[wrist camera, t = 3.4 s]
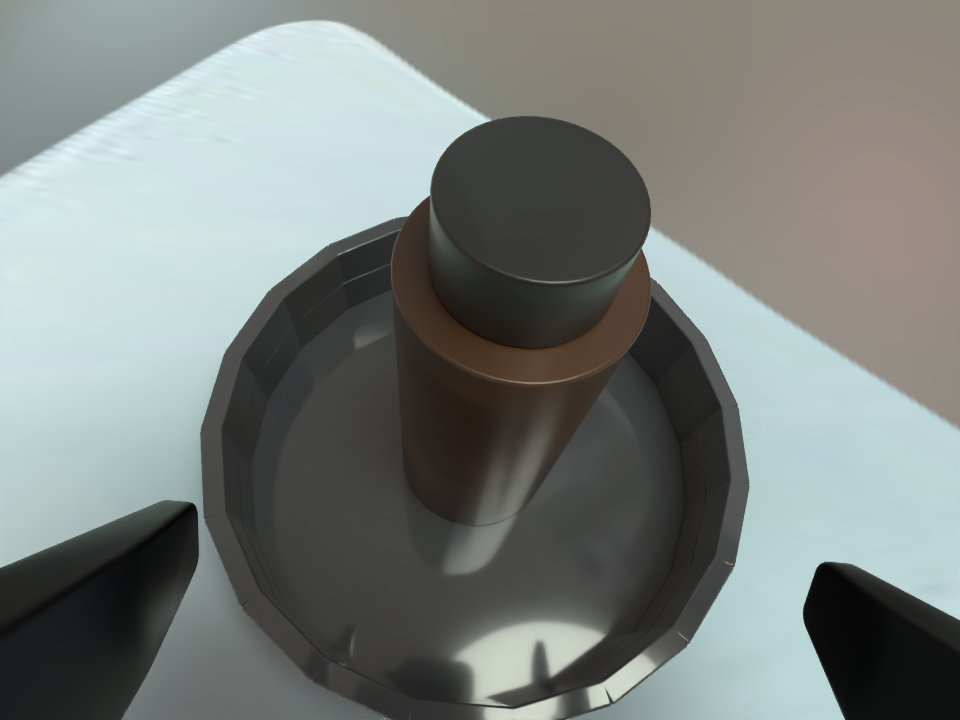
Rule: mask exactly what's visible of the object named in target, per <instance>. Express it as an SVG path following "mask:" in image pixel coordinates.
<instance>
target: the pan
mask: <svg viewBox="0 0 960 720" xmlns="http://www.w3.org/2000/svg"><path fill="white" fill-rule="evenodd" d="M408 217H409V216H408ZM408 217H400V218H395V219H392V220H389V221H387V222H384V223H382V224H379V225H377V226H374V227H372V228H369V229H367V230H364V231H362V232H359V233H357V234H354V235H352V236H349V237H347V238H344V239H342V240H339V241H337V242H334V243H332V244H330V245H329V246H326V247H325V248H324V249H322V250H321V251H320V252H318V253H317V254H316V255H314V256H313V257H312V258H311V259H309V260H308V261H307V262H305V263H304V264H303V265H301V266H300V267H299V268H298V269H296V270H295V271H294V272H292V273H291V274H290V275H288V276H287V277H286V278H284V279H283V280H282V281H281V282H279V283H278V284H277V285H275V286H274V287H273V288H271V290H270V291H268V293H267V294H266V295H265V297H264V298H263V300H262V301H261V302H260V304H259V305H258V307H257V308H256V309H255V311H254V312H253V314H252V315H251V316H250V318H249V319H248V321H247V322H246V323H245V325H244V326H243V328H242V329H241V330H240V332H239V333H238V335H237V336H236V337H235V339H234V340H233V342H232V343H231V344H230V346H229V347H228V349H227V350H226V352H225V354H224V356H223V359H222V363H221V366H220V369H219V372H218V376H217V379H216V382H215V385H214V388H213V392H212V395H211V398H210V401H209V405H208V408H207V411H206V414H205V417H204V421H203V424H202V427H201V432H200V439H201V464H202V488H203V512H204V519H205V523H206V526H207V528H208V530H209V533H210V535H211V538H212V540H213V542H214V545H215V547H216V550H217V552H218V554H219V557H220V559H221V561H222V564H223V566H224V569H225V571H226V573H227V576H228V578H229V580H230V583H231V585H232V588H233V590H234V592H235V595H236V597H237V600H238V602H239V604H240V606H242V609H243V610H244V612H245V613H246V614H247V615H248V616H249V617H250V618H251V619H252V620H253V621H254V622H255V623H256V624H257V625H258V626H259V627H260V628H261V629H262V630H263V631H264V633H265V634H266V635H267V636H268V637H269V638H270V639H271V640H272V641H273V642H274V643H275V644H276V645H277V646H278V647H279V648H280V649H281V650H282V651H283V652H284V654H285V655H286V656H287V657H288V658H289V659H290V660H291V661H292V662H293V663H294V664H295V665H296V666H297V667H298V668H299V669H300V670H301V671H302V672H303V673H304V675H305V676H306V677H307V678H308V679H309V680H312V682H313V683H315V684H317V685H319V686H321V687H323V688H325V689H328V690H330V691H332V692H334V693H336V694H338V695H340V696H342V697H344V698H346V699H349V700H351V701H353V702H355V703H357V704H359V705H361V706H363V707H365V708H367V709H370V710H372V711H374V712H376V713H378V714H380V715H382V716H384V717H386V718H388V719H391V720H567V719H570V718H573V717H577V716H580V715H583V714H586V713H590V712H593V711H596V710H600V709H603V708H606V707H609V706H611V704H615V703H616V702H618V701H619V700H620V699H622V698H623V697H624V696H625V695H627V694H628V693H629V692H630V691H632V690H633V689H634V688H635V687H637V686H638V685H639V684H640V683H642V682H643V681H644V680H646V679H647V678H648V677H649V676H651V675H652V674H653V673H654V672H656V671H657V670H658V669H659V668H661V667H662V666H663V665H664V664H666V663H667V662H668V661H669V660H671V659H672V658H673V657H675V656H676V655H677V654H678V653H680V652H681V651H682V650H683V649H685V648H686V647H687V644H689V643H690V642H691V640H692V638H693V637H694V635H695V633H696V632H697V630H698V628H699V627H700V625H701V623H702V621H703V620H704V618H705V616H706V615H707V613H708V611H709V610H710V608H711V606H712V605H713V603H714V601H715V599H716V598H717V596H718V594H719V593H720V591H721V589H722V588H723V586H724V584H725V583H726V581H727V579H728V577H729V576H730V574H731V572H732V571H733V567H735V562H736V557H737V551H738V546H739V541H740V535H741V530H742V524H743V519H744V513H745V508H746V503H747V497H748V492H749V478H748V471H747V464H746V457H745V450H744V443H743V436H742V429H741V422H740V415H739V408H738V407H737V406H738V405H737V402H736V400H735V398H734V396H733V394H732V392H731V390H730V388H729V386H728V383H727V381H726V379H725V377H724V375H723V373H722V371H721V369H720V366H719V364H718V362H717V360H716V358H715V356H714V354H713V352H712V349H711V347H710V345H709V343H708V341H707V339H706V338H705V336H704V335H703V334H702V333H701V332H700V331H699V329H698V328H697V327H696V326H695V325H694V324H693V322H692V321H691V320H690V319H689V318H688V317H687V316H686V314H685V313H684V312H683V311H682V310H681V309H680V307H679V306H678V305H677V304H676V303H675V302H674V301H673V299H672V298H671V297H670V296H669V295H668V294H667V292H666V291H665V290H664V289H663V288H662V287H661V286H660V284H657V282H656V281H655V280H653V279H652V278H651V277H650V283H651V298H650V306H649V311H648V315H647V318H646V321H645V323H644V326H643V328H642V330H641V332H640V334H639V335H638V337H637V338H636V340H635V342H634V343H633V345H632V346H631V348H630V349H629V351H628V352H627V354H626V356H625V357H624V359H623V360H622V362H621V363H620V365H619V366H618V368H617V369H616V371H615V372H614V374H613V375H612V377H611V378H610V380H609V382H608V383H607V385H606V386H605V388H604V389H603V391H602V392H601V394H600V395H599V397H598V398H597V400H596V401H595V403H594V404H593V406H592V408H591V409H590V411H589V412H588V414H587V415H586V417H585V418H584V420H583V421H582V423H581V424H580V426H579V427H578V429H577V430H576V432H575V434H574V435H573V437H572V438H571V440H570V441H569V443H568V444H567V446H566V447H565V449H564V450H563V452H562V453H561V455H560V456H559V458H558V460H557V461H556V463H555V464H554V466H553V467H552V469H551V470H550V472H549V473H548V475H547V476H546V478H545V479H544V481H543V482H542V484H541V486H540V487H539V489H538V490H537V492H536V493H535V495H534V496H533V498H532V499H531V500H530V501H529V502H528V504H527V505H526V506H525V507H523V508H522V509H521V510H520V511H519V512H517V513H516V514H514V515H513V516H511V517H509V518H507V519H505V520H503V521H500V522H497V523H493V524H488V525H477V526H474V525H464V524H459V523H455V522H452V521H449V520H447V519H445V518H443V517H441V516H439V515H437V514H436V513H434V512H433V511H431V510H430V509H429V508H428V507H427V506H425V505H424V504H423V503H422V502H421V500H420V499H419V498H418V497H417V496H416V494H415V493H414V491H413V489H412V488H411V486H410V483H409V481H408V479H407V476H406V472H405V468H404V462H403V448H402V433H401V418H400V403H399V388H398V373H397V358H396V343H395V328H394V313H393V298H392V283H391V260H392V253H393V248H394V245H395V242H396V239H397V236H398V234H399V232H400V230H401V228H402V226H403V224H404V223H405V221H406V220H407V218H408Z"/></svg>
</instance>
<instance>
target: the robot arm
mask: <svg viewBox="0 0 960 720" xmlns="http://www.w3.org/2000/svg"><path fill="white" fill-rule="evenodd" d="M198 557H199V540H198V512H197V509H196V506H195V505H194V504H193V503H191V502H182V501H172V500H164V501H161V502H158V503H156V504H153V505H151V506H149V507H146V508H144V509H141V510H139V511H137V512H134V513H132V514H129V515H127V516H125V517H122V518H120V519H117V520H115V521H113V522H110V523H108V524H105V525H103V526H101V527H98V528H96V529H93V530H91V531H89V532H86V533H84V534H81V535H79V536H76V537H74V538H72V539H69V540H67V541H64V542H62V543H60V544H57V545H55V546H52V547H50V548H48V549H45V550H43V551H40V552H38V553H36V554H33V555H31V556H28V557H26V558H24V559H21V560H19V561H16V562H14V563H12V564H9V565H7V566H4V567H2V568H0V720H121V719H122V717H123V715H124V713H125V712H126V710H127V708H128V707H129V705H130V703H131V702H132V700H133V698H134V697H135V695H136V693H137V692H138V690H139V688H140V686H141V684H142V683H143V681H144V679H145V677H146V675H147V674H148V672H149V670H150V668H151V666H152V664H153V662H154V660H155V657H156V655H157V653H158V651H159V649H160V647H161V644H162V642H163V640H164V638H165V636H166V634H167V631H168V629H169V627H170V625H171V623H172V620H173V618H174V616H175V614H176V612H177V610H178V607H179V605H180V603H181V601H182V599H183V596H184V594H185V592H186V590H187V588H188V586H189V583H190V581H191V579H192V577H193V575H194V572H195V570H196V567H197V563H198ZM803 619H804V624H805V627H806V629H807V632H808V634H809V636H810V639H811V641H812V643H813V646H814V648H815V650H816V653H817V655H818V658H819V660H820V662H821V665H822V667H823V669H824V672H825V674H826V676H827V679H828V681H829V683H830V686H831V688H832V691H833V693H834V695H835V698H836V700H837V702H838V705H839V707H840V709H841V712H842V714H843V716H844V718H845V720H960V620H958V619H956V618H954V617H952V616H950V615H949V614H947V613H945V612H943V611H941V610H939V609H937V608H935V607H933V606H931V605H929V604H927V603H926V602H924V601H922V600H920V599H918V598H916V597H914V596H912V595H910V594H908V593H906V592H904V591H903V590H901V589H899V588H897V587H895V586H893V585H891V584H889V583H887V582H885V581H883V580H881V579H880V578H878V577H876V576H874V575H872V574H870V573H868V572H866V571H864V570H862V569H860V568H858V567H857V566H854V565H852V564H848V563H837V562H824V563H821V564H820V565H819V566H818V567H817V569H816V571H815V574H814V577H813V580H812V583H811V586H810V589H809V592H808V595H807V598H806V601H805V604H804V608H803Z"/></svg>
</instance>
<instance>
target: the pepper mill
mask: <svg viewBox="0 0 960 720" xmlns="http://www.w3.org/2000/svg"><path fill="white" fill-rule="evenodd" d="M650 221H651V208H650V199H649V195H648V192H647V188H646V186H645V184H644V181H643V179H642V177H641V176H640V174H639V173H638V171H637V169H636V168H635V166H634V165H633V164H632V163H631V161H630V160H629V159H628V158H627V157H626V156H625V155H624V154H623V153H622V152H621V151H620V150H619V149H618V148H616V147H615V146H614V145H612V144H611V143H610V142H609V141H607V140H605V139H604V138H603V137H601V136H599V135H597V134H596V133H594V132H592V131H590V130H588V129H585V128H583V127H580V126H578V125H576V124H572V123H569V122H566V121H562V120H557V119H552V118H546V117H538V116H519V117H508V118H502V119H497V120H493V121H490V122H486V123H484V124H481V125H479V126H476V127H474V128H473V129H471V130H469V131H467V132H465V133H464V134H463V135H461V136H460V137H458V138H457V139H456V140H455V141H454V142H453V143H452V144H451V145H450V146H449V147H448V148H447V149H446V151H445V152H444V153H443V155H442V156H441V157H440V159H439V161H438V163H437V165H436V167H435V170H434V173H433V176H432V181H431V188H430V196H429V197H427V198H426V199H425V200H423V201H422V202H421V203H420V204H419V205H418V206H417V207H416V208H415V209H414V210H413V212H412V213H411V214H410V216H409V217H408V218H407V220H406V221H405V223H404V224H403V226H402V228H401V230H400V232H399V234H398V236H397V239H396V242H395V245H394V248H393V253H392V260H391V283H392V298H393V313H394V328H395V343H396V358H397V373H398V388H399V403H400V418H401V433H402V448H403V462H404V468H405V472H406V476H407V479H408V481H409V483H410V486H411V488H412V489H413V491H414V493H415V494H416V496H417V497H418V498H419V499H420V500H421V502H422V503H423V504H424V505H425V506H427V507H428V508H429V509H430V510H431V511H433V512H434V513H436V514H437V515H439V516H441V517H443V518H445V519H447V520H449V521H452V522H455V523H459V524H464V525H474V526H477V525H488V524H493V523H497V522H500V521H503V520H505V519H507V518H509V517H511V516H513V515H514V514H516V513H517V512H519V511H520V510H521V509H522V508H523V507H525V506H526V505H527V504H528V502H529V501H530V500H531V499H532V498H533V496H534V495H535V493H536V492H537V490H538V489H539V487H540V486H541V484H542V482H543V481H544V479H545V478H546V476H547V475H548V473H549V472H550V470H551V469H552V467H553V466H554V464H555V463H556V461H557V460H558V458H559V456H560V455H561V453H562V452H563V450H564V449H565V447H566V446H567V444H568V443H569V441H570V440H571V438H572V437H573V435H574V434H575V432H576V430H577V429H578V427H579V426H580V424H581V423H582V421H583V420H584V418H585V417H586V415H587V414H588V412H589V411H590V409H591V408H592V406H593V404H594V403H595V401H596V400H597V398H598V397H599V395H600V394H601V392H602V391H603V389H604V388H605V386H606V385H607V383H608V382H609V380H610V378H611V377H612V375H613V374H614V372H615V371H616V369H617V368H618V366H619V365H620V363H621V362H622V360H623V359H624V357H625V356H626V354H627V352H628V351H629V349H630V348H631V346H632V345H633V343H634V342H635V340H636V338H637V337H638V335H639V334H640V332H641V330H642V328H643V326H644V323H645V321H646V318H647V315H648V311H649V306H650V298H651V283H650V273H649V269H648V265H647V261H646V258H645V256H644V253H643V251H642V246H643V244H644V242H645V240H646V237H647V235H648V231H649V227H650Z"/></svg>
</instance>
